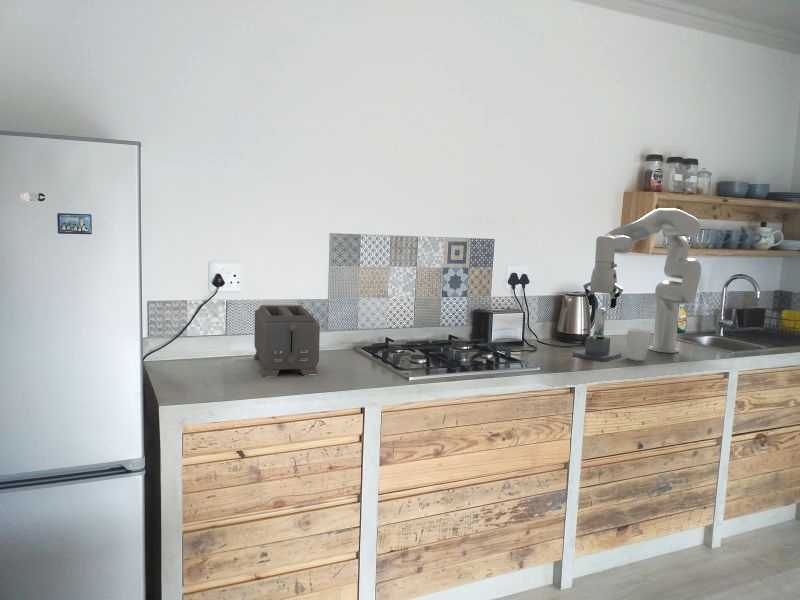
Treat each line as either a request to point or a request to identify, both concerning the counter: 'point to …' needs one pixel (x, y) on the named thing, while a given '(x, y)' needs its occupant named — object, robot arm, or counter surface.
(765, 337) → the counter surface
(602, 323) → the column
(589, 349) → the stand base
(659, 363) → the counter surface
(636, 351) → the cup
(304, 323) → the toaster
